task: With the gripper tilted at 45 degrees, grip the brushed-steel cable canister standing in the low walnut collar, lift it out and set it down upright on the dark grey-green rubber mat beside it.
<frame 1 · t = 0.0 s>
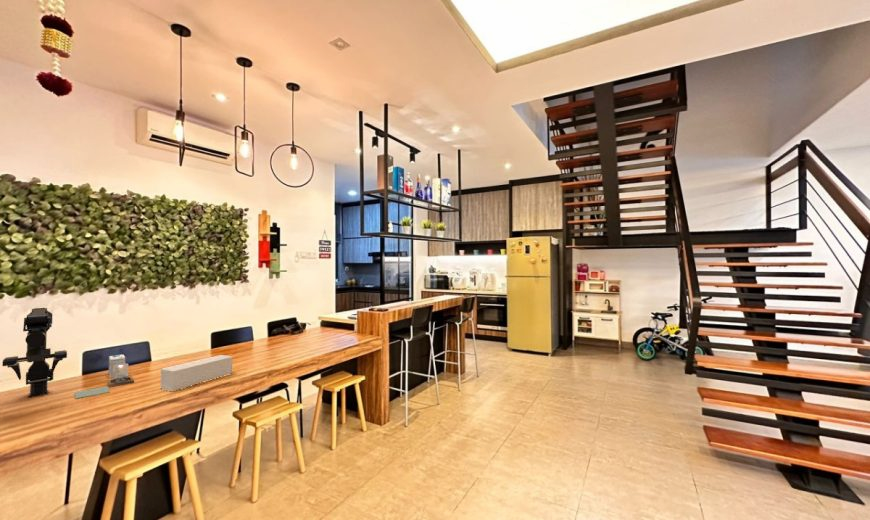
hand: (36, 377, 154), 15 cm above the table, tool pointing down, fingers open, 9 cm apart
long grey concrete block: (198, 382, 193), on the table
steel cable canister: (120, 374, 190), in the walnut collar
walnut collar: (120, 383, 190), on the table
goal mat: (92, 392, 175), on the table
grey boxy fixture: (116, 375, 205), on the table
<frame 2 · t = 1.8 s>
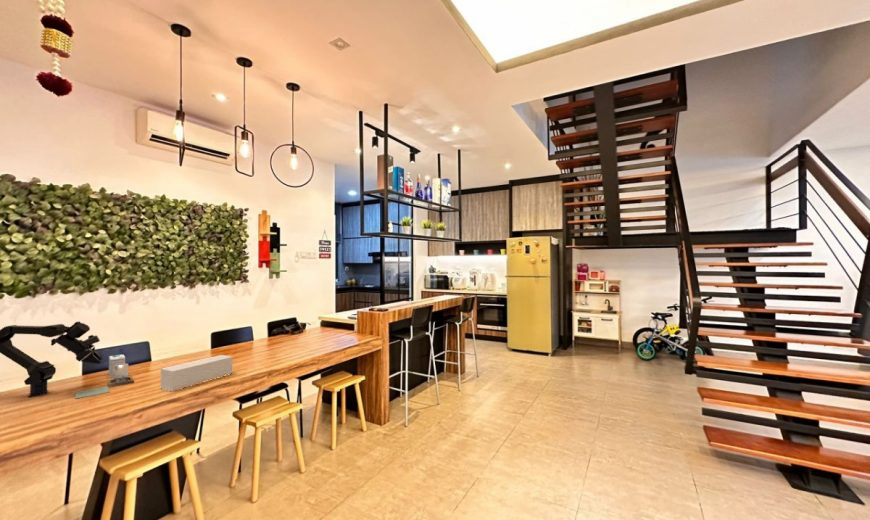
hand: (100, 361, 184), 13 cm above the table, tool tilted 45°, fingers open, 9 cm apart
nothing on the table moved.
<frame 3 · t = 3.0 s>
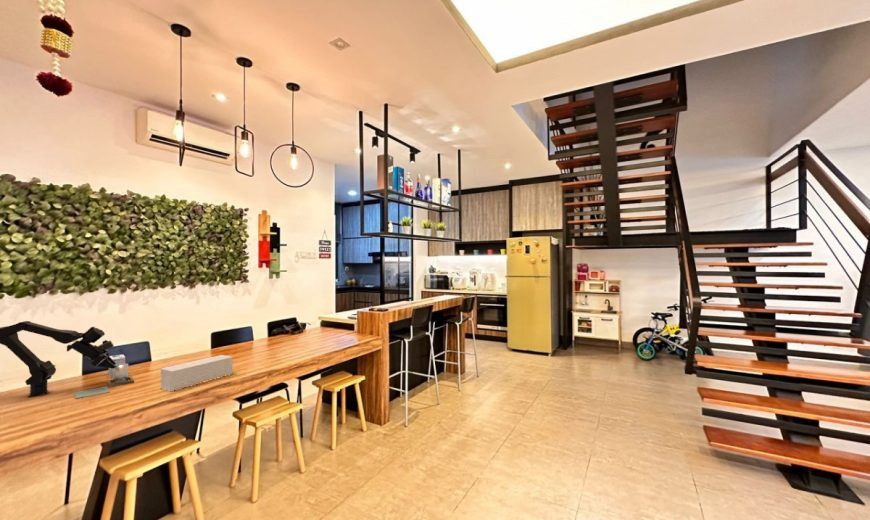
hand: (114, 365, 188), 10 cm above the table, tool tilted 45°, fingers open, 9 cm apart
nothing on the table moved.
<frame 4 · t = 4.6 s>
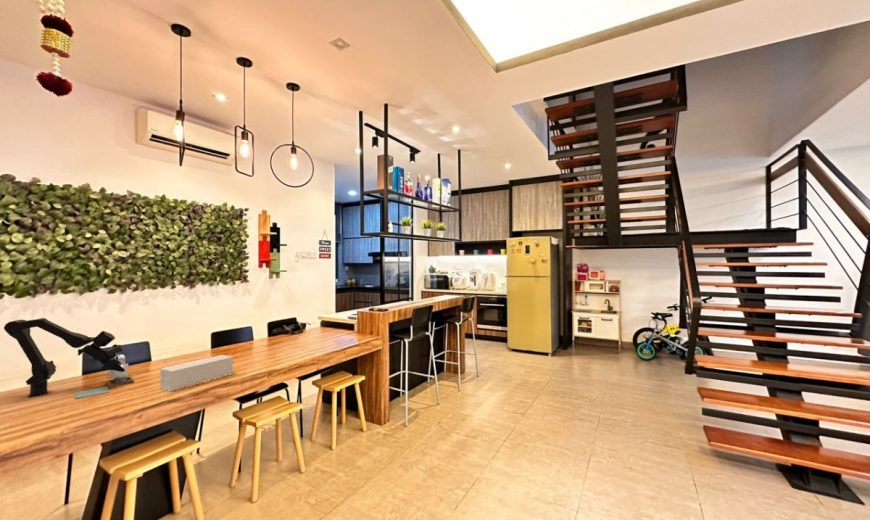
hand: (124, 369, 191), 7 cm above the table, tool tilted 45°, fingers closed on steel cable canister, 6 cm apart
steel cable canister: (120, 374, 190), in the walnut collar, touching gripper
everything else where it was.
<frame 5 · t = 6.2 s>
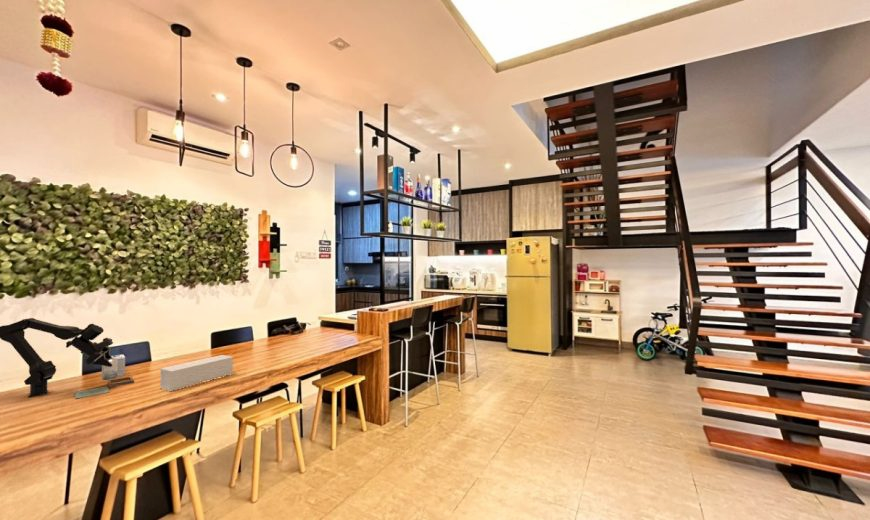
hand: (113, 364, 184), 12 cm above the table, tool tilted 45°, fingers closed on steel cable canister, 6 cm apart
steel cable canister: (109, 368, 183), point 10 cm above the table, touching gripper
everything else where it was.
when the fingers open (9 cm above the table, at t = 8.2 s): steel cable canister drops 1 cm, resting on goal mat.
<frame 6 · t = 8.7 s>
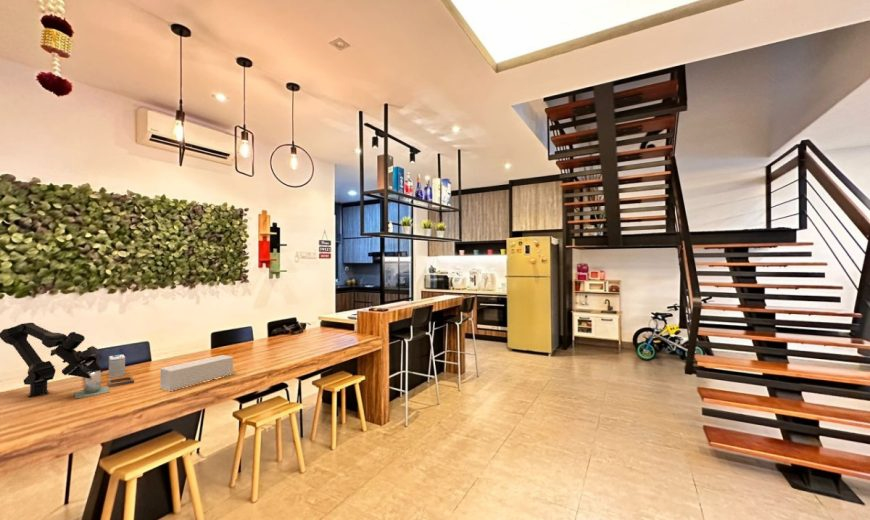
hand: (95, 374, 176), 9 cm above the table, tool tilted 45°, fingers open, 9 cm apart
steel cable canister: (92, 382, 175), on the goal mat
everything else where it was.
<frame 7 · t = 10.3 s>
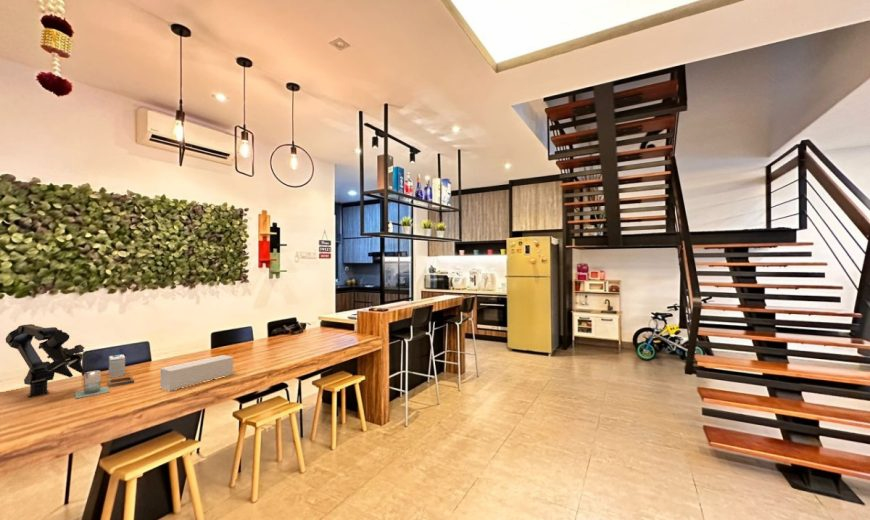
hand: (77, 374, 173), 10 cm above the table, tool tilted 35°, fingers open, 9 cm apart
nothing on the table moved.
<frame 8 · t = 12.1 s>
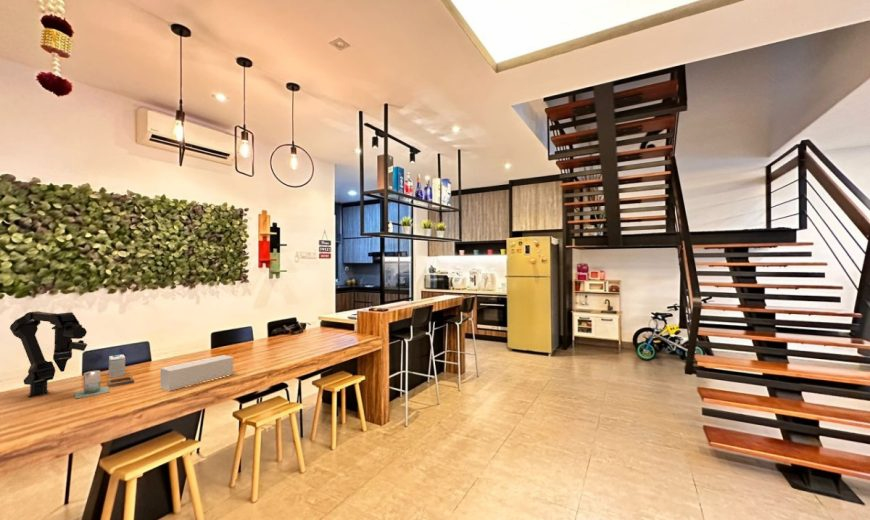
hand: (62, 369, 171), 13 cm above the table, tool pointing down, fingers open, 9 cm apart
at the end: steel cable canister inside the target area on the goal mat (0.1 cm from its centre), point 5.4 cm above the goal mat's base; steel cable canister tilted 1°; the gripper is holding nothing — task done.
